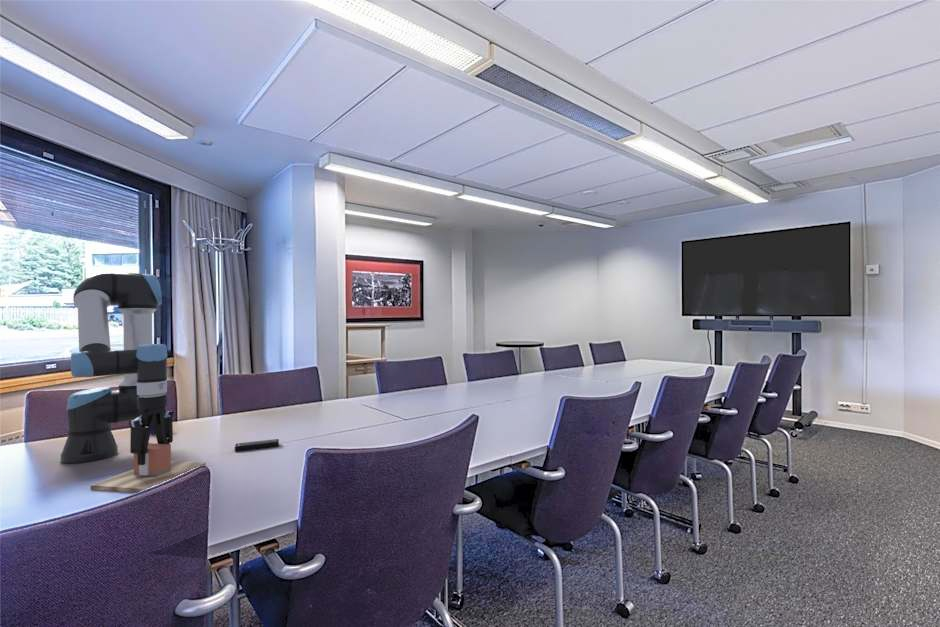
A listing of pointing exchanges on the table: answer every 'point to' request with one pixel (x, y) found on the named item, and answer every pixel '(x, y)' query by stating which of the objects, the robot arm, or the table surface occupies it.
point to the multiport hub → (256, 445)
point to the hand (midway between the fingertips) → (152, 471)
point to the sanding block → (156, 459)
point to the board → (143, 478)
